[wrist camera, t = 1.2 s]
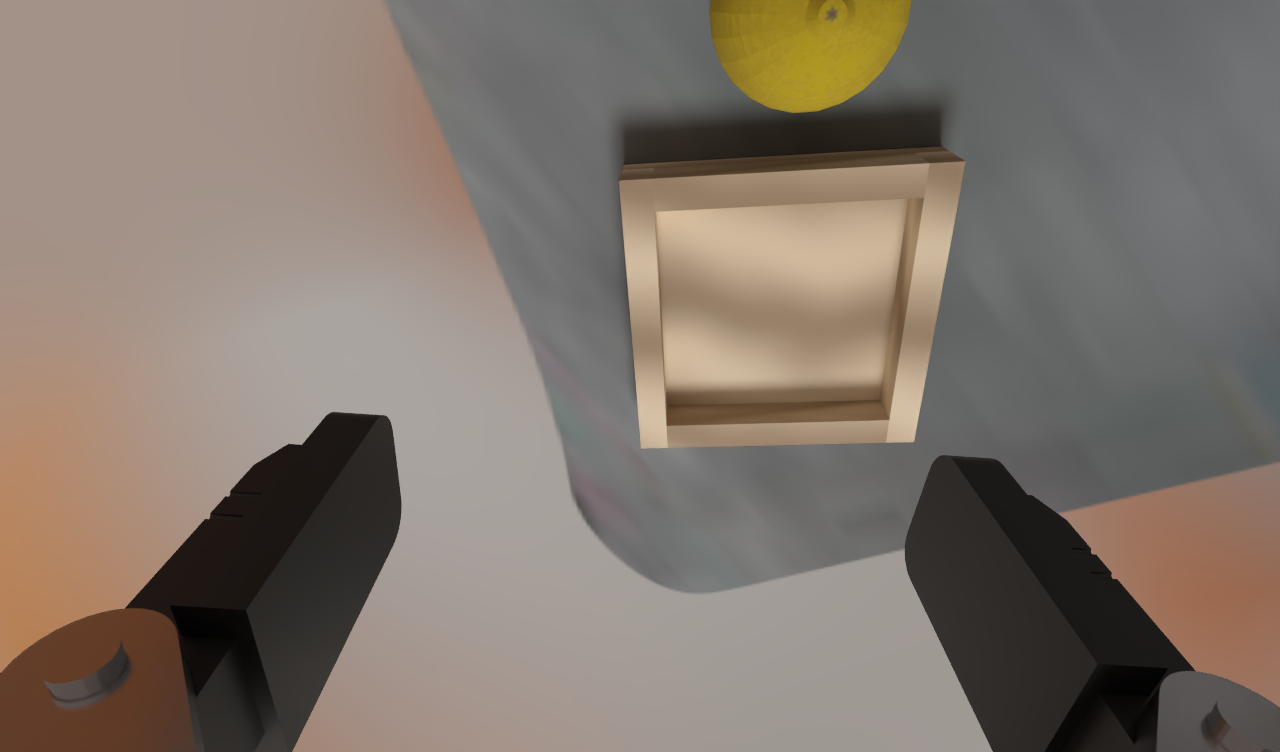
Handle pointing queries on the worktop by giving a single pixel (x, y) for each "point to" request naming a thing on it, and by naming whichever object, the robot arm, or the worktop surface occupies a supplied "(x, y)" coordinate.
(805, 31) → the lemon
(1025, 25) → the worktop surface
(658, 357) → the tray
